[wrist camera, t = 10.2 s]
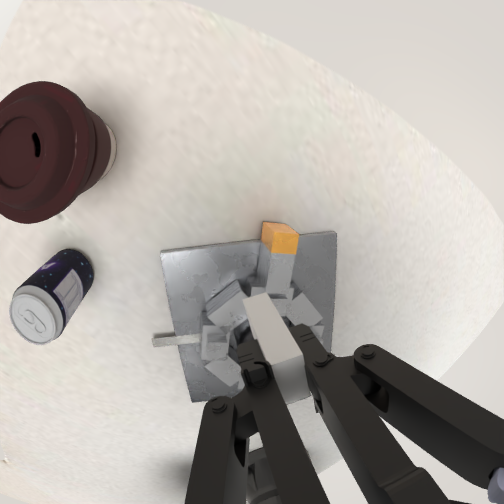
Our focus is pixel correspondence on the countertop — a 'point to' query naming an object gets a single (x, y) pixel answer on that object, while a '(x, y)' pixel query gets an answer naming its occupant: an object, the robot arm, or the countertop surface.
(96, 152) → the coffee cup
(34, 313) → the beverage can
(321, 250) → the flange plate
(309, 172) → the countertop surface
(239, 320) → the segmented block ring
